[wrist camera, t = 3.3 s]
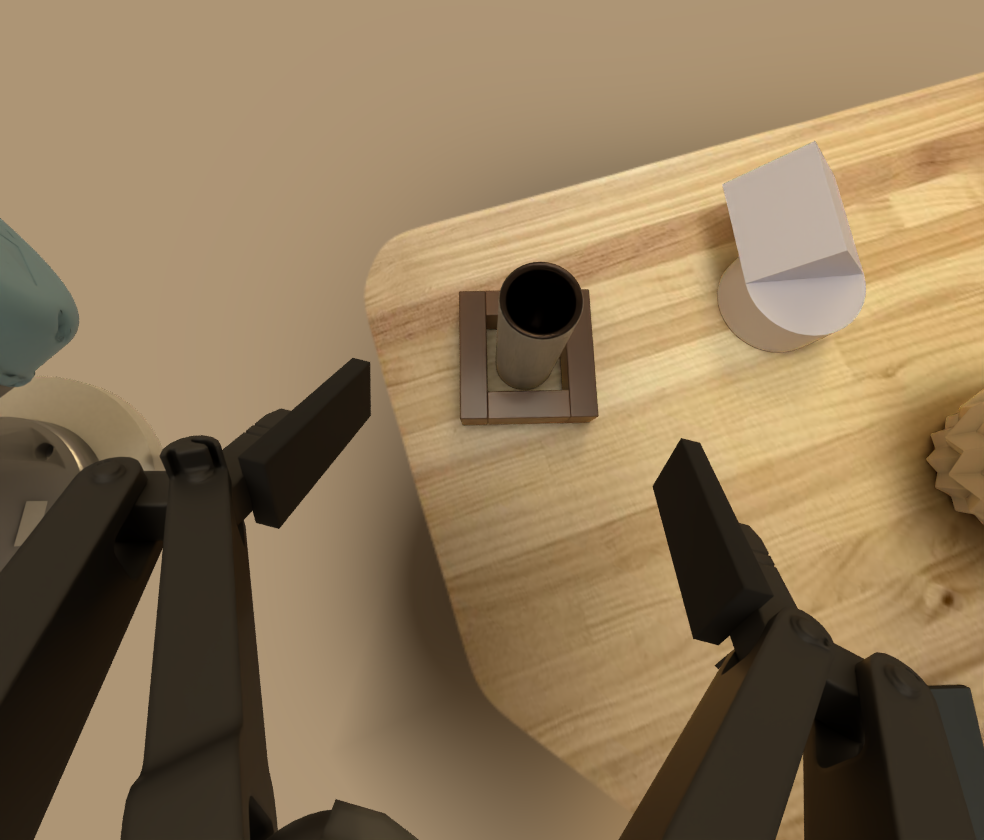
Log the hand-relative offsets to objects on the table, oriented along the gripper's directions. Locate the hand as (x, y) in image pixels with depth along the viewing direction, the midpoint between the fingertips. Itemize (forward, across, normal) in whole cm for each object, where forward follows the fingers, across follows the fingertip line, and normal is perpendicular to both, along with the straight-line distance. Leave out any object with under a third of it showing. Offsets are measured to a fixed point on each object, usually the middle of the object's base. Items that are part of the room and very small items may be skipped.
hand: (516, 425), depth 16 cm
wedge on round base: (+23, +18, +5) cm, 30 cm away
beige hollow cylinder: (+15, 0, -4) cm, 15 cm away
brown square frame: (+14, 0, -4) cm, 15 cm away
